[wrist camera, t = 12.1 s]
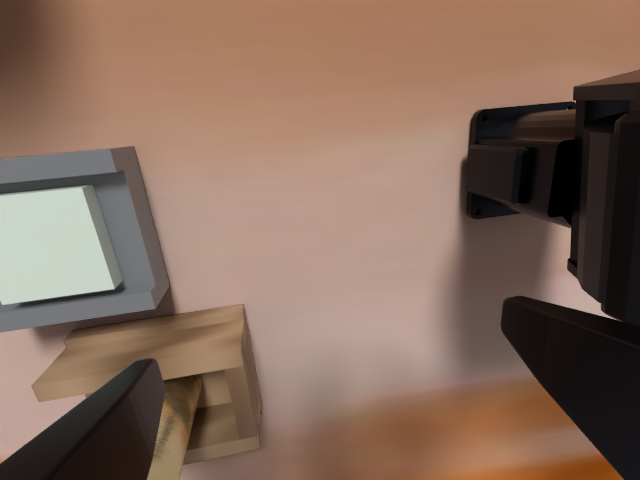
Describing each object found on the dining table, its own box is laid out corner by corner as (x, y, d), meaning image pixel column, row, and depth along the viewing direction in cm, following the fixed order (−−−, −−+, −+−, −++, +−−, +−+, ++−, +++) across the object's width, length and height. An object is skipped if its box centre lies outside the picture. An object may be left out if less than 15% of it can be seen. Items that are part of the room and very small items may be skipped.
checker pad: (92, 184, 15) (81, 187, 14) (122, 280, 17) (114, 289, 16) (-26, 196, 15) (-46, 200, 14) (17, 295, 16) (2, 305, 16)
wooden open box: (243, 304, 21) (238, 342, 17) (261, 403, 23) (261, 454, 20) (72, 330, 20) (27, 377, 16) (112, 431, 22) (81, 493, 18)
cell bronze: (195, 349, 20) (162, 459, 13) (207, 398, 21) (182, 520, 15) (130, 360, 20) (61, 479, 13) (146, 409, 21) (91, 541, 14)
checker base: (134, 146, 17) (110, 148, 14) (170, 285, 20) (155, 308, 17) (-40, 162, 16) (-99, 168, 13) (23, 306, 19) (-17, 334, 16)
